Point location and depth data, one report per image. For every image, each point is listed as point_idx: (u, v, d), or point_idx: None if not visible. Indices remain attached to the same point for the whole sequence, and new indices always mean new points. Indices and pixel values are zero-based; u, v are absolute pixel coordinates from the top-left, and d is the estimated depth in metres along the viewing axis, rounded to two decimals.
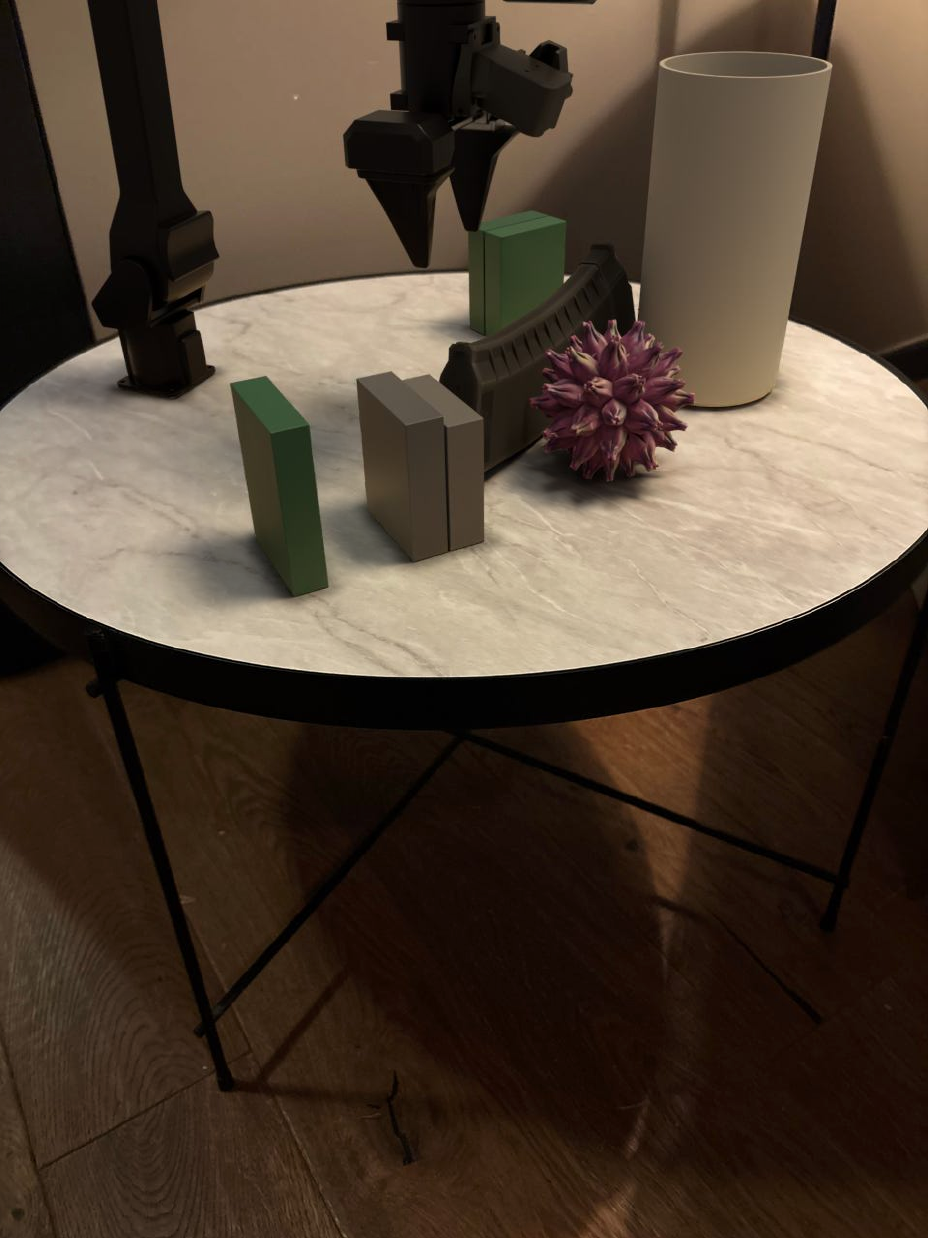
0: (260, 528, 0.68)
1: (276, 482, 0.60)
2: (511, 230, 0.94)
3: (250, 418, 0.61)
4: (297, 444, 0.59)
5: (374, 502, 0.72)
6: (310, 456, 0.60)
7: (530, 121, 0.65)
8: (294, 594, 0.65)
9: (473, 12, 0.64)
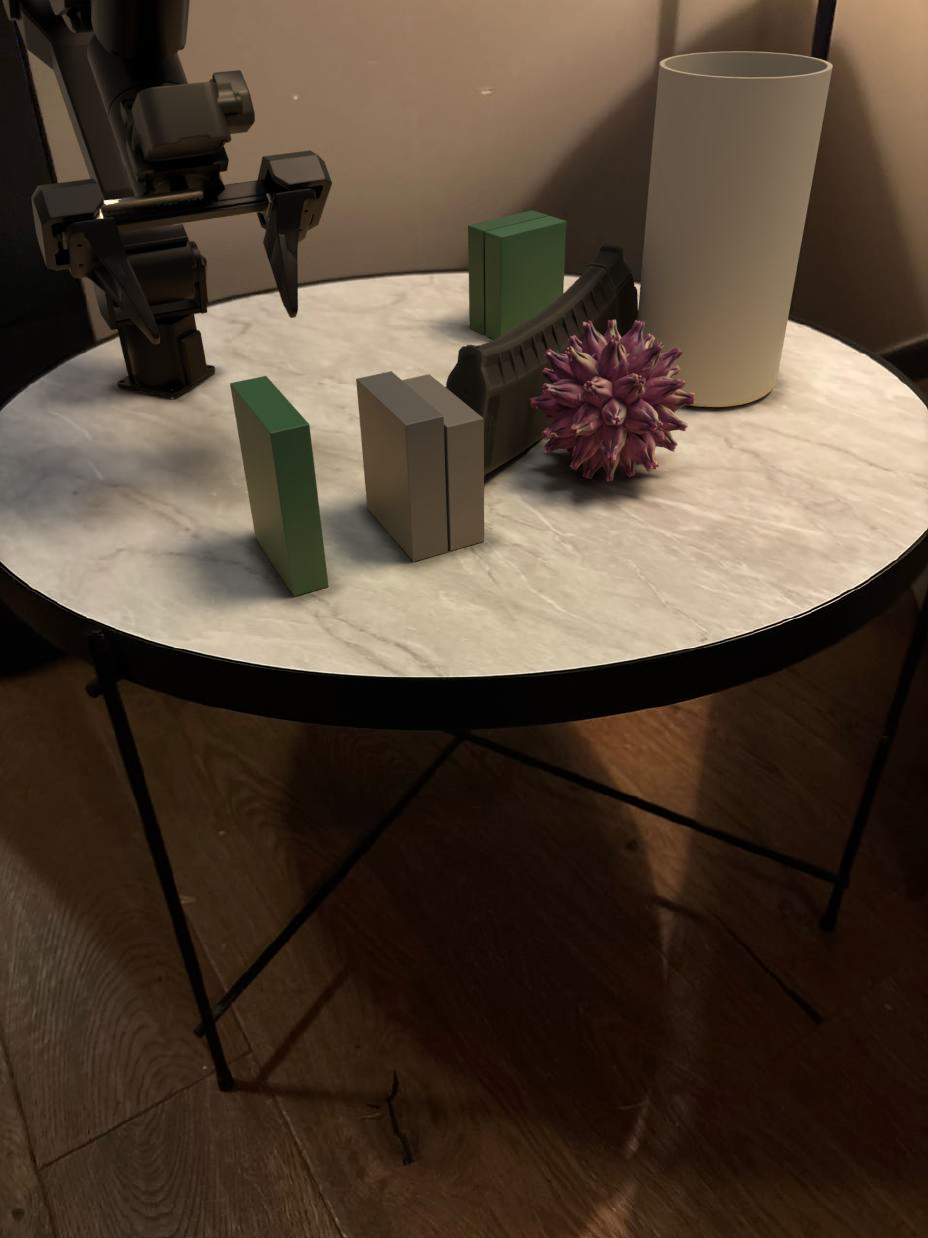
0: (260, 528, 0.68)
1: (276, 482, 0.60)
2: (511, 230, 0.94)
3: (250, 418, 0.61)
4: (297, 444, 0.59)
5: (374, 502, 0.72)
6: (310, 456, 0.60)
7: (149, 133, 0.59)
8: (294, 594, 0.65)
9: (140, 92, 0.64)
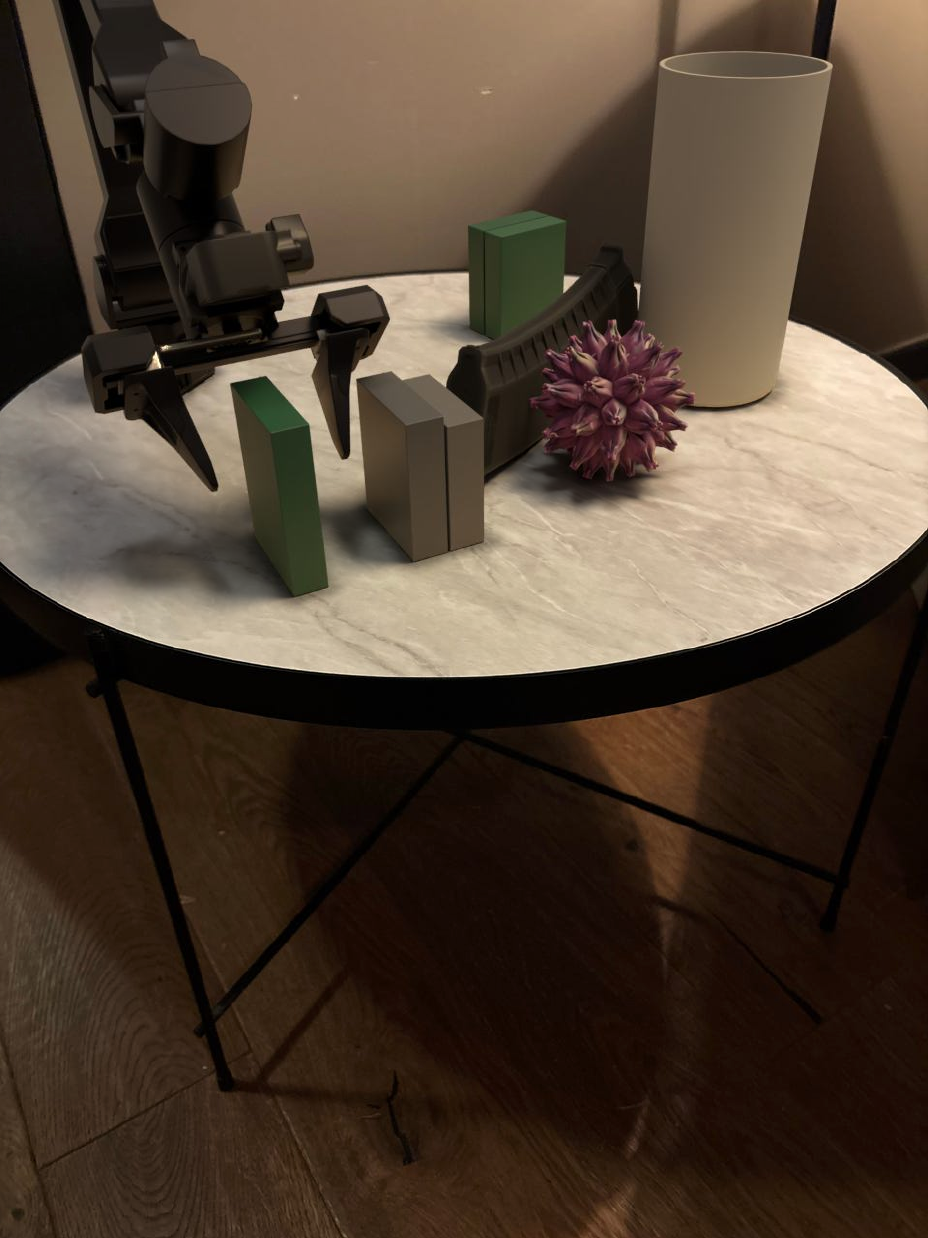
0: (260, 528, 0.68)
1: (276, 482, 0.60)
2: (511, 230, 0.94)
3: (250, 418, 0.61)
4: (297, 444, 0.59)
5: (374, 502, 0.72)
6: (310, 456, 0.60)
7: (206, 285, 0.57)
8: (294, 594, 0.65)
9: (192, 232, 0.62)
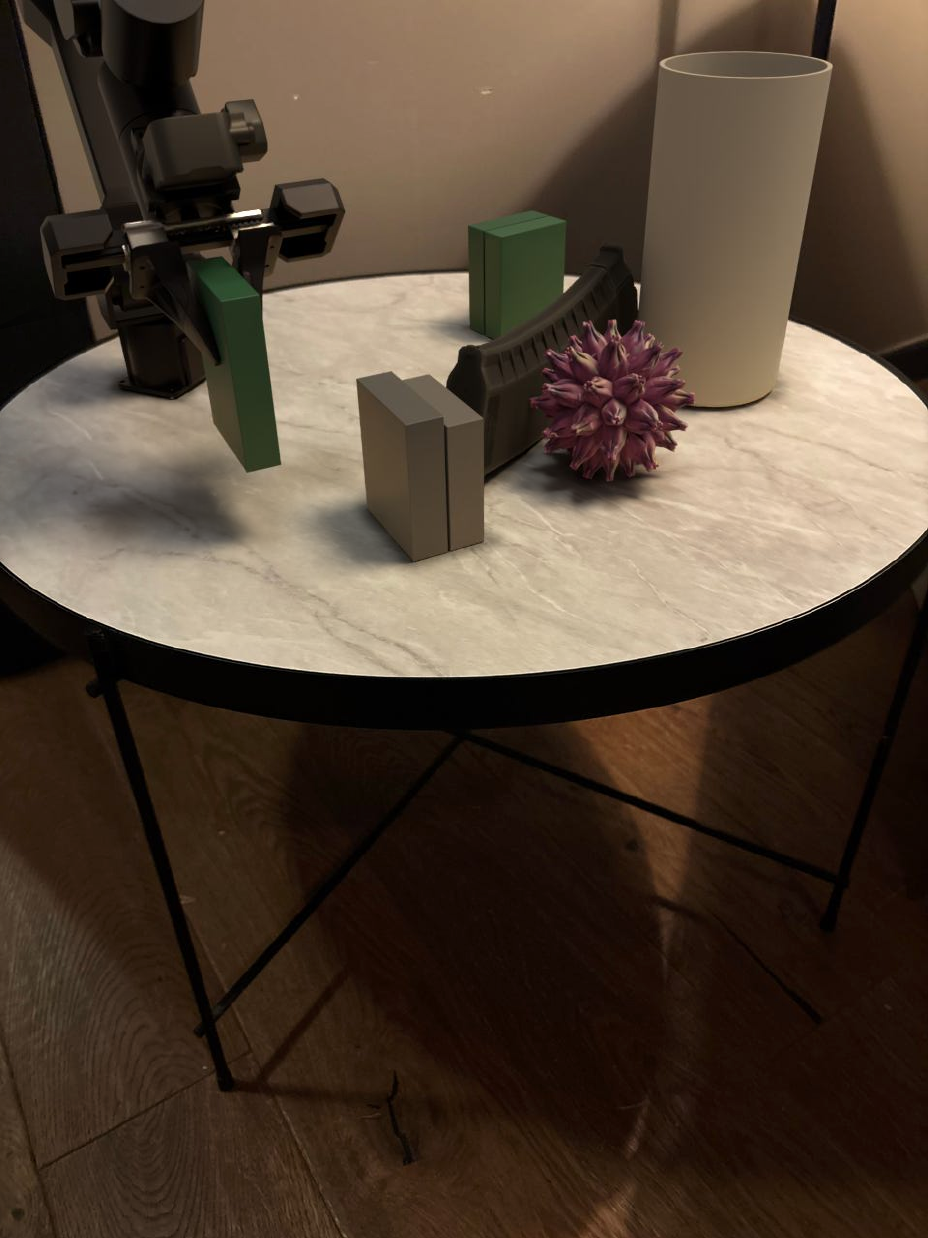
0: (217, 410, 0.70)
1: (227, 353, 0.62)
2: (511, 230, 0.94)
3: (204, 292, 0.63)
4: (247, 315, 0.61)
5: (374, 502, 0.72)
6: (261, 328, 0.62)
7: (160, 164, 0.58)
8: (247, 470, 0.67)
9: (151, 119, 0.63)
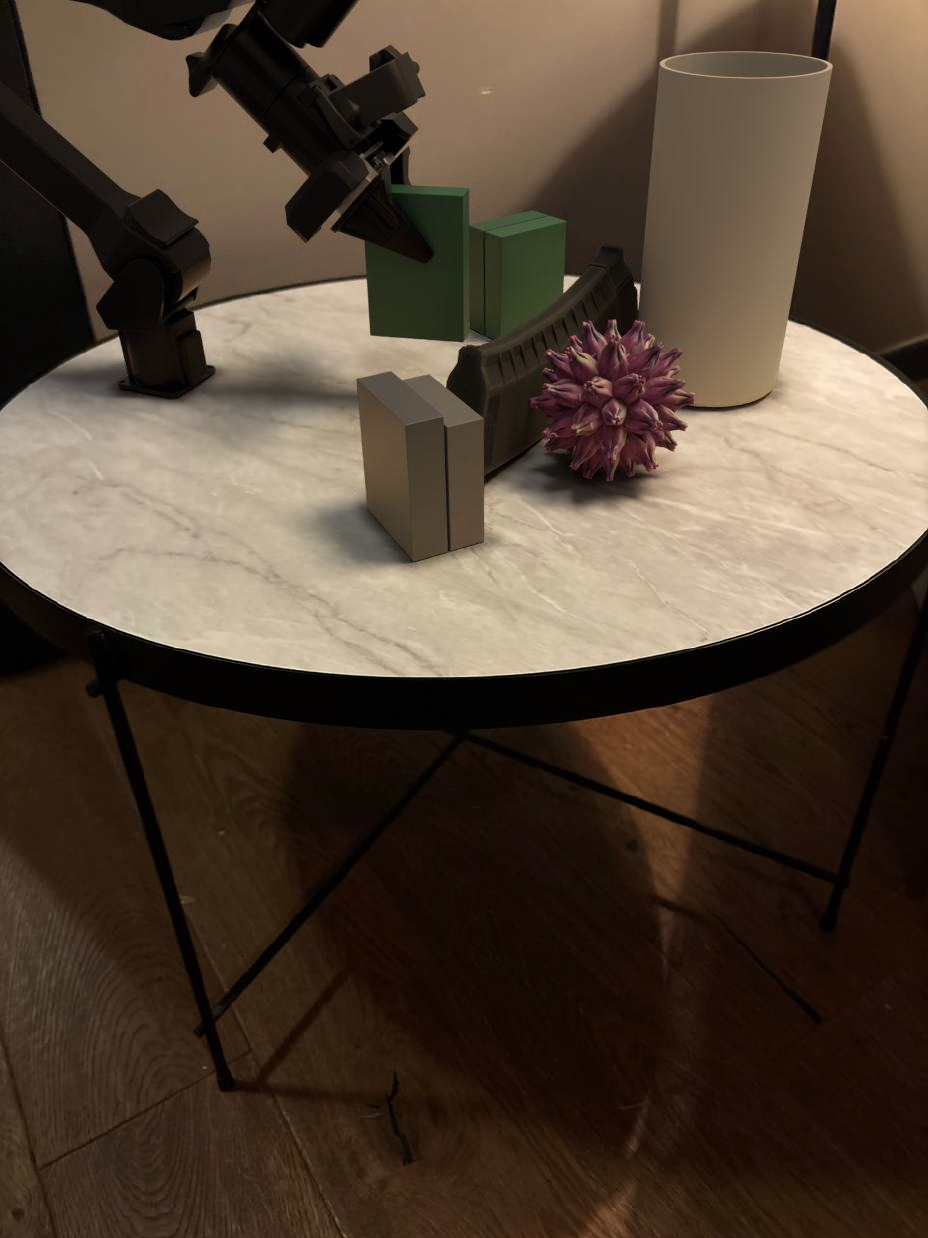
0: (391, 315, 0.83)
1: (460, 240, 0.79)
2: (511, 230, 0.94)
3: (410, 203, 0.78)
4: (467, 205, 0.78)
5: (374, 502, 0.72)
6: None
7: (399, 97, 0.72)
8: (463, 340, 0.83)
9: (307, 76, 0.74)
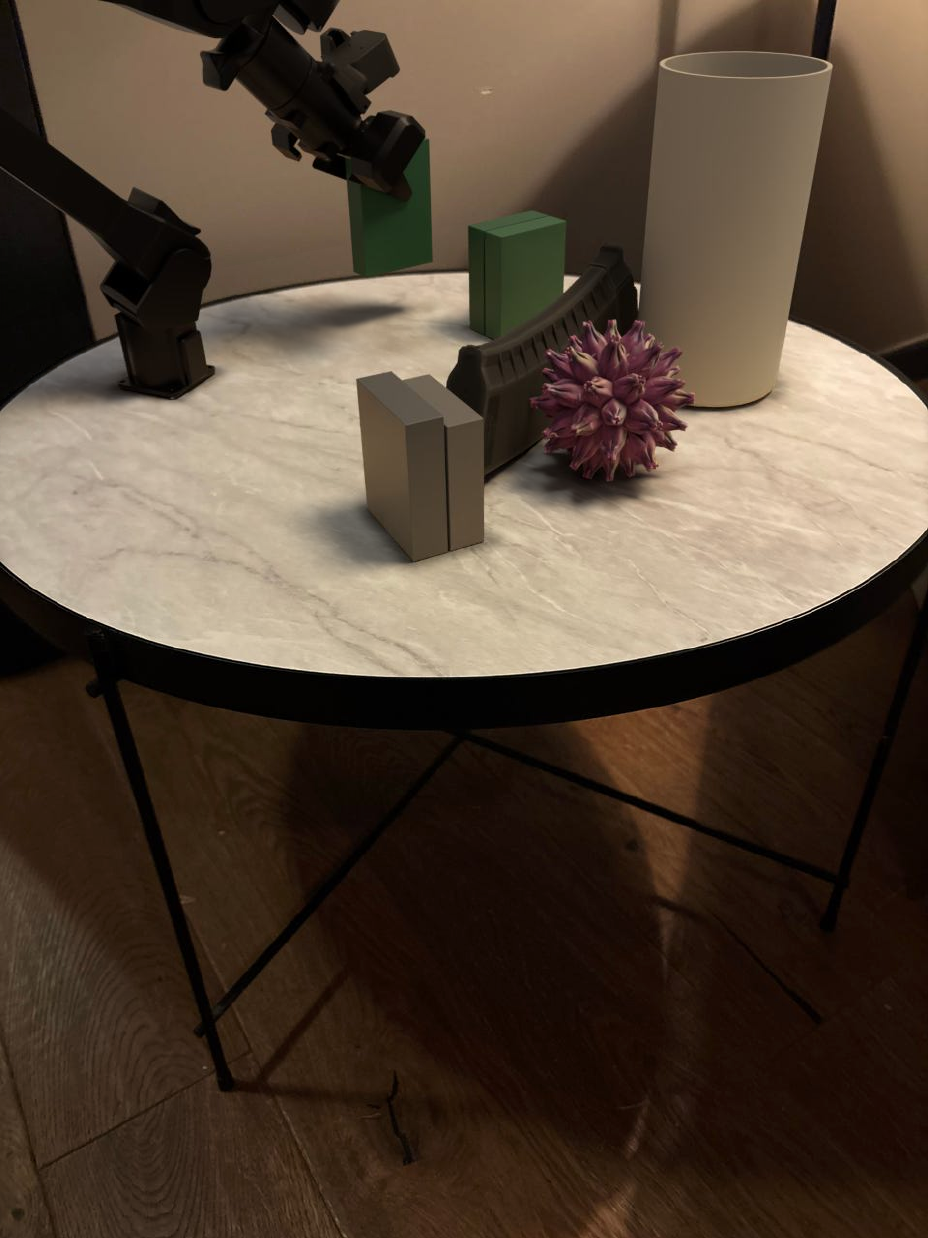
0: (381, 254, 0.99)
1: (429, 175, 0.98)
2: (511, 230, 0.94)
3: None
4: None
5: (374, 502, 0.72)
6: None
7: (394, 63, 0.89)
8: (432, 260, 1.03)
9: (313, 58, 0.86)
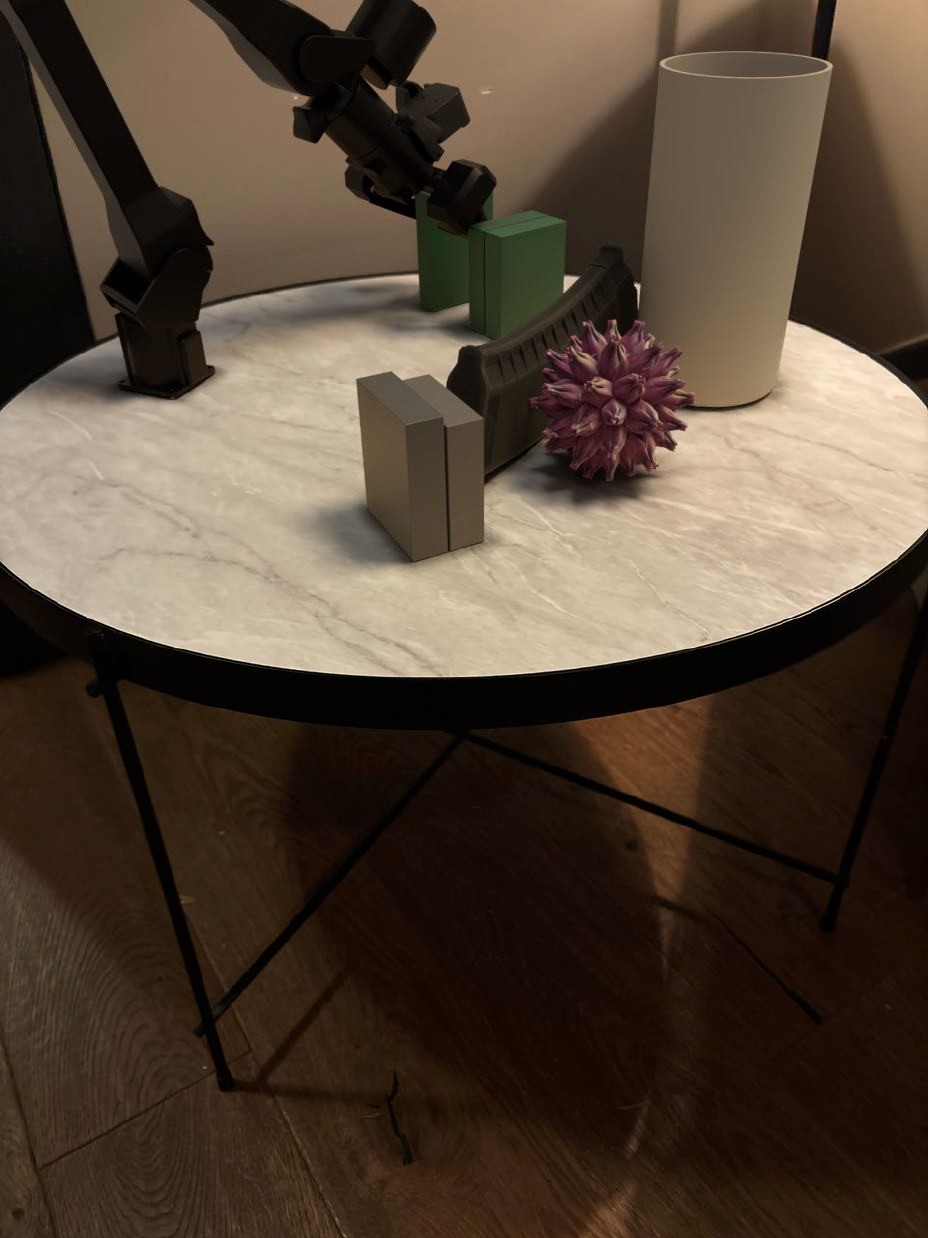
0: (447, 289, 1.05)
1: (491, 216, 1.04)
2: (511, 230, 0.94)
3: None
4: None
5: (374, 502, 0.72)
6: None
7: (465, 114, 0.96)
8: None
9: (393, 111, 0.93)
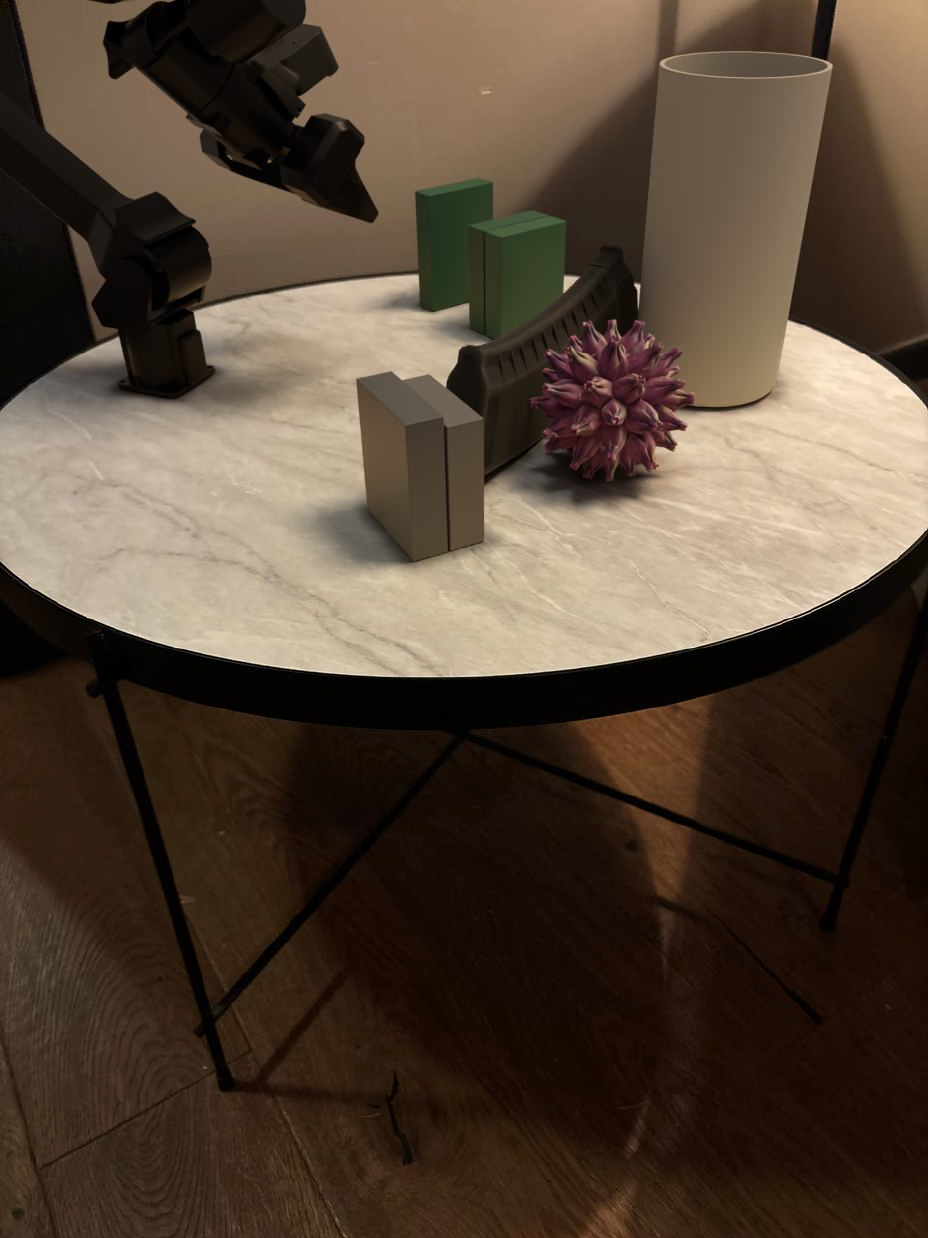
0: (447, 289, 1.05)
1: (491, 216, 1.04)
2: (511, 230, 0.94)
3: (461, 197, 1.01)
4: None
5: (374, 502, 0.72)
6: None
7: (331, 61, 0.79)
8: None
9: None
